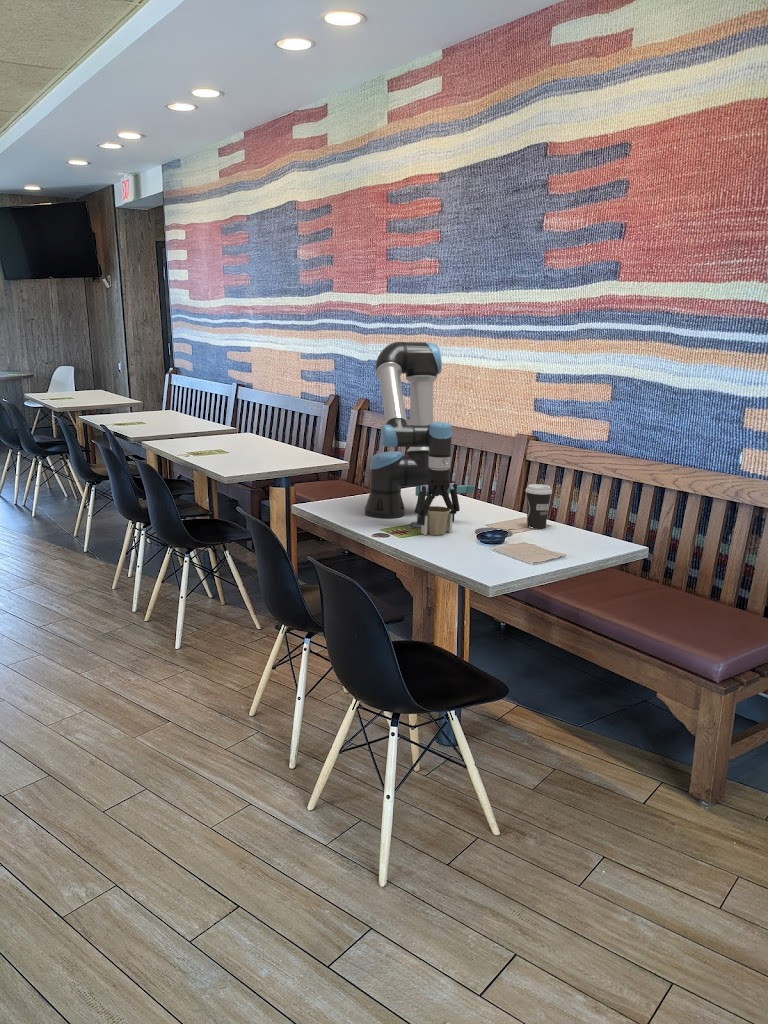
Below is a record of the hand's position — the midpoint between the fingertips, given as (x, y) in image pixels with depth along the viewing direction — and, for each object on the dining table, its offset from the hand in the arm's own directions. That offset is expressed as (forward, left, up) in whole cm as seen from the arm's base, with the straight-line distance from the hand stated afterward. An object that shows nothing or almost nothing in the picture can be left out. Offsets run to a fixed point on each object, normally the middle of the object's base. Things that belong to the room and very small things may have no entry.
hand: (436, 532), depth 285 cm
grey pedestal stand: (-11, 0, 0) cm, 11 cm away
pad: (+7, +19, 0) cm, 20 cm away
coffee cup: (+5, +39, 0) cm, 39 cm away
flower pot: (0, 0, 0) cm, 0 cm away
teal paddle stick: (-10, +9, +11) cm, 18 cm away
